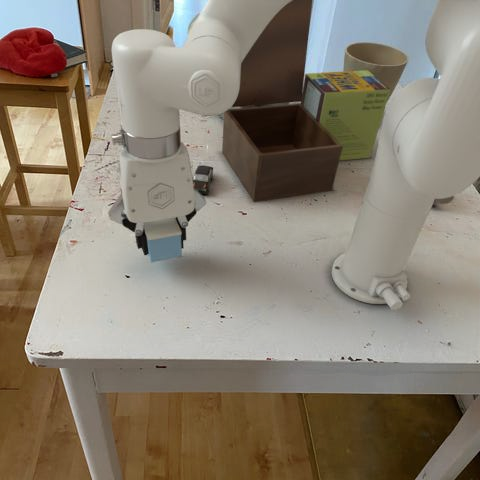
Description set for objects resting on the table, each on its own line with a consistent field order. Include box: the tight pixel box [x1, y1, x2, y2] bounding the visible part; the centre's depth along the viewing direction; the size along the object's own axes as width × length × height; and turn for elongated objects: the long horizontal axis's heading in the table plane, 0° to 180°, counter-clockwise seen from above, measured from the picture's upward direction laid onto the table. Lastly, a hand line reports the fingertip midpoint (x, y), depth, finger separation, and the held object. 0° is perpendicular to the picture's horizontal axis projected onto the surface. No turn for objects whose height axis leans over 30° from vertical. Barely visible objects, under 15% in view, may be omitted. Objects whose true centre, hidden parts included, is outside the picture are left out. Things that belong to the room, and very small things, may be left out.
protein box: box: [300, 70, 390, 162], centre depth 105 cm, size 10×15×16 cm
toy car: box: [192, 129, 214, 195], centre depth 94 cm, size 4×12×8 cm, turn 172°
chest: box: [221, 102, 343, 203], centre depth 98 cm, size 20×18×10 cm
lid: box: [232, 0, 313, 107], centre depth 95 cm, size 20×18×5 cm
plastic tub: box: [144, 217, 183, 263], centre depth 74 cm, size 6×5×5 cm
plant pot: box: [342, 41, 410, 102], centre depth 117 cm, size 15×15×16 cm
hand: (161, 245), depth 76 cm, fingers closed on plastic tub, 5 cm apart
